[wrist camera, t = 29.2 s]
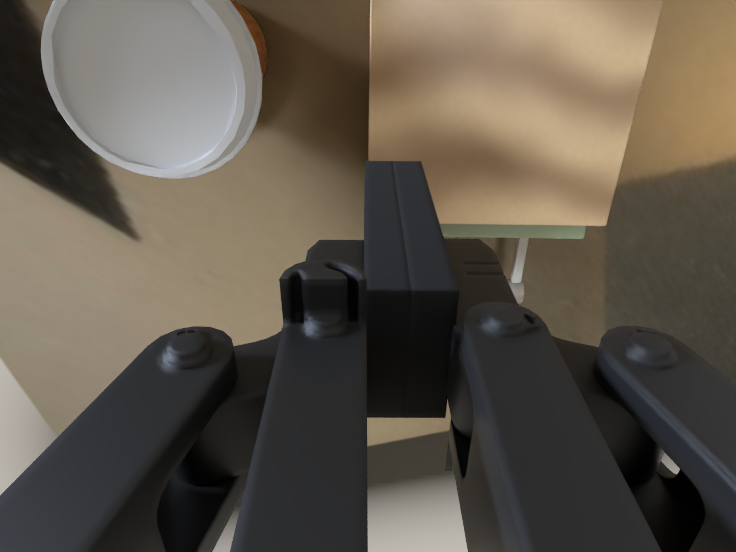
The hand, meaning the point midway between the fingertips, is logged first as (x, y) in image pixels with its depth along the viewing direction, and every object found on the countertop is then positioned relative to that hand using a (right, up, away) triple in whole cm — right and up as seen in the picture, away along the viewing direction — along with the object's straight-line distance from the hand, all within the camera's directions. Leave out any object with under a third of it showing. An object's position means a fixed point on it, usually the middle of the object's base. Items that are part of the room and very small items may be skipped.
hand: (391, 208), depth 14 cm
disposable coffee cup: (-10, +12, +18) cm, 24 cm away
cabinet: (+6, +12, +18) cm, 23 cm away
